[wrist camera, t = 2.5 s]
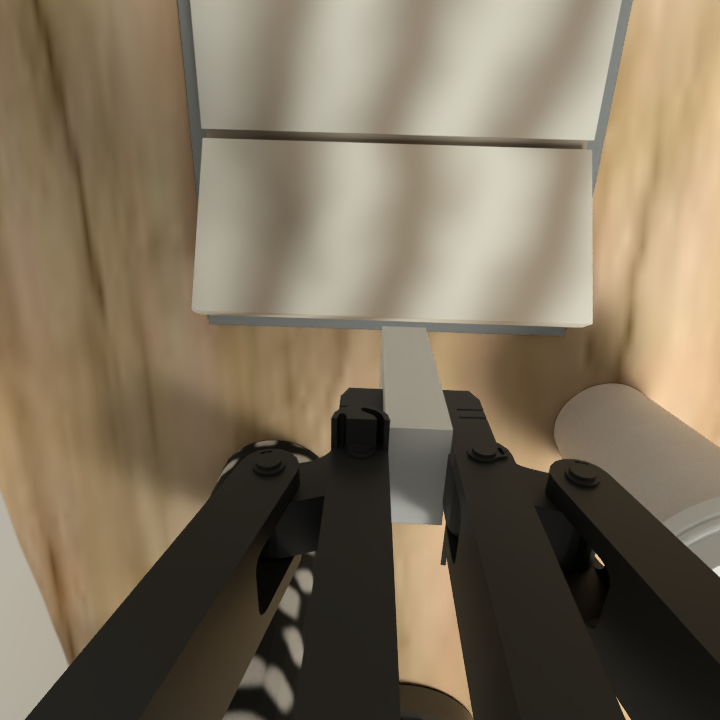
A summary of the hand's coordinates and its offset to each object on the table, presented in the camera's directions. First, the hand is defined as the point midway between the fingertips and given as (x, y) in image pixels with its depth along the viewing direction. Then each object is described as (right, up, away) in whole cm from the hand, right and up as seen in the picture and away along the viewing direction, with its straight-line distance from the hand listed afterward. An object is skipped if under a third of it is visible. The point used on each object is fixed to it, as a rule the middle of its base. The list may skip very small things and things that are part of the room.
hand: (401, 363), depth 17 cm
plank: (0, +7, +9) cm, 11 cm away
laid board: (+1, +16, +7) cm, 18 cm away
